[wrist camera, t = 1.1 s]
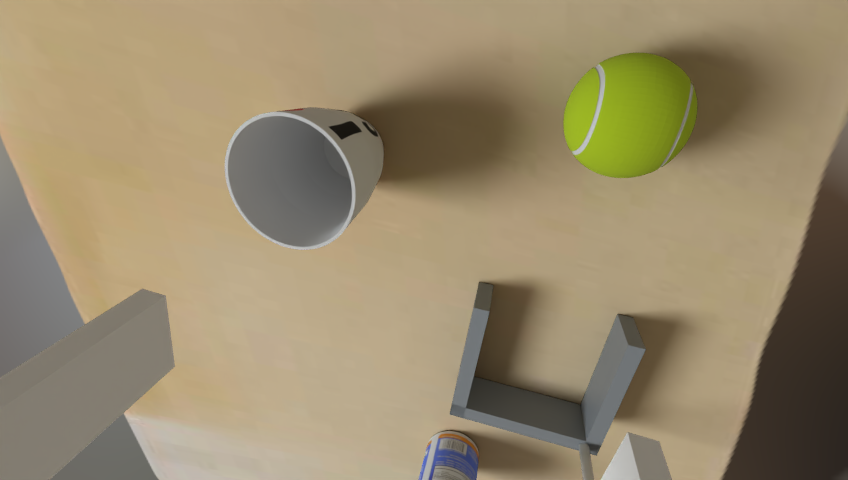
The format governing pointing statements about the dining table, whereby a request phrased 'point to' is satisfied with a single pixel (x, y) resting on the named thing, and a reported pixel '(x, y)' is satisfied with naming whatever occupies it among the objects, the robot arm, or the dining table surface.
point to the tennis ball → (630, 115)
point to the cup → (303, 173)
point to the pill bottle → (450, 458)
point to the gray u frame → (545, 413)
